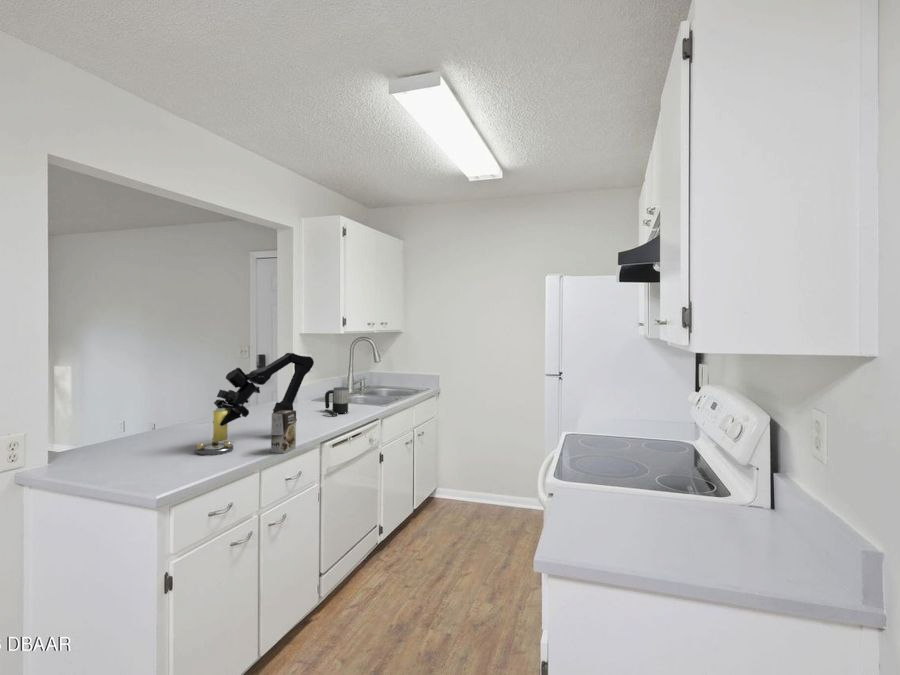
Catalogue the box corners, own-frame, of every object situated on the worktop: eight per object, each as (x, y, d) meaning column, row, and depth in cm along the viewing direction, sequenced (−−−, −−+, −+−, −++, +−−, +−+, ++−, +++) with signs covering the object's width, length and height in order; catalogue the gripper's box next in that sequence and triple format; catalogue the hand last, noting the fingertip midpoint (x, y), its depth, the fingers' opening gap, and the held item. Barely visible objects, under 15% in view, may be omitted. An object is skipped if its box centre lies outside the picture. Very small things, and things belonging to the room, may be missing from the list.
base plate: (222, 444, 204) (222, 435, 204) (240, 450, 196) (240, 440, 196) (188, 451, 193) (188, 441, 193) (205, 457, 185) (205, 447, 185)
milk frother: (347, 411, 287) (348, 386, 286) (350, 416, 272) (351, 390, 271) (323, 412, 282) (323, 387, 282) (324, 417, 267) (325, 391, 267)
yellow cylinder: (228, 437, 199) (228, 407, 199) (225, 441, 194) (225, 409, 194) (215, 438, 198) (215, 407, 198) (211, 441, 193) (212, 410, 193)
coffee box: (284, 453, 192) (285, 414, 192) (270, 452, 194) (270, 413, 193) (296, 448, 201) (296, 410, 201) (282, 446, 203) (283, 409, 202)
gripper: (218, 380, 204) (192, 409, 196) (242, 384, 193) (215, 415, 185) (236, 396, 211) (211, 425, 202) (259, 401, 200) (234, 432, 191)
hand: (217, 424), depth 195 cm, fingers closed on yellow cylinder, 5 cm apart
